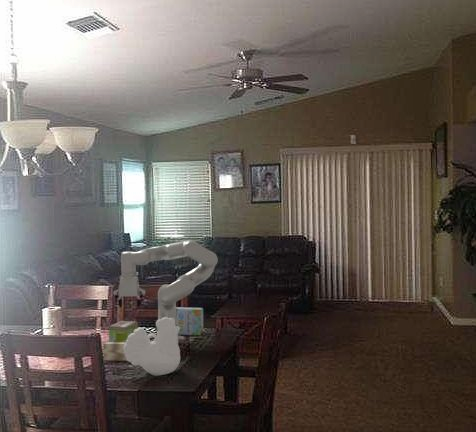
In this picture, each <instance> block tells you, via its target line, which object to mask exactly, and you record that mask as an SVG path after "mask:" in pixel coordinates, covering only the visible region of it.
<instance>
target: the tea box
mask: <svg viewBox="0 0 476 432" xmlns="http://www.w3.org/2000/svg"><path fill="white" fill-rule="evenodd" d="M137 328H139V321H135V320H134V321H130V320H119V321H118V322H115V323H114V324H110V325H109V327H108V342H126V340H127V338H128V336H129V335H130V334H131V333H134V330H135V329H137Z"/></svg>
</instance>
